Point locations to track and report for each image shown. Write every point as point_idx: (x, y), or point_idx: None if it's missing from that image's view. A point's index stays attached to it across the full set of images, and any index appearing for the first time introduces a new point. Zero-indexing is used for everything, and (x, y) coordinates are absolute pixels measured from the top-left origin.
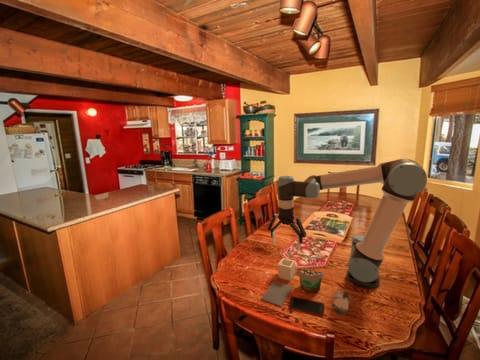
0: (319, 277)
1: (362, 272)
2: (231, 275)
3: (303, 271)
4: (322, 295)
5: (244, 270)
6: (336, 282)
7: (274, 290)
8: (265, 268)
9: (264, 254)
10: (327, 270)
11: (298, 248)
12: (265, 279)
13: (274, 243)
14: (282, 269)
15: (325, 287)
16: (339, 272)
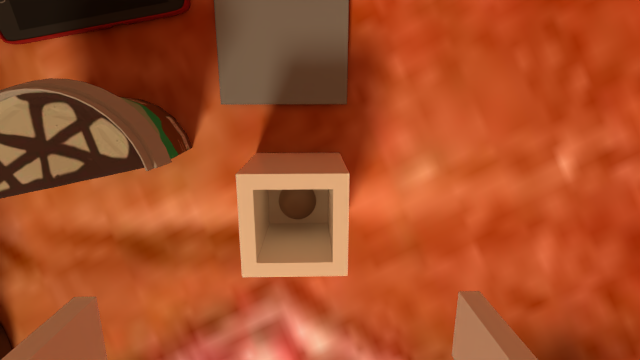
0: None
1: None
2: (634, 27)
3: (100, 146)
4: None
5: (569, 121)
6: (32, 264)
7: (304, 8)
8: (448, 204)
9: None
10: (116, 345)
11: (70, 308)
12: (404, 99)
13: (457, 309)
14: (308, 165)
15: (64, 195)
16: None
